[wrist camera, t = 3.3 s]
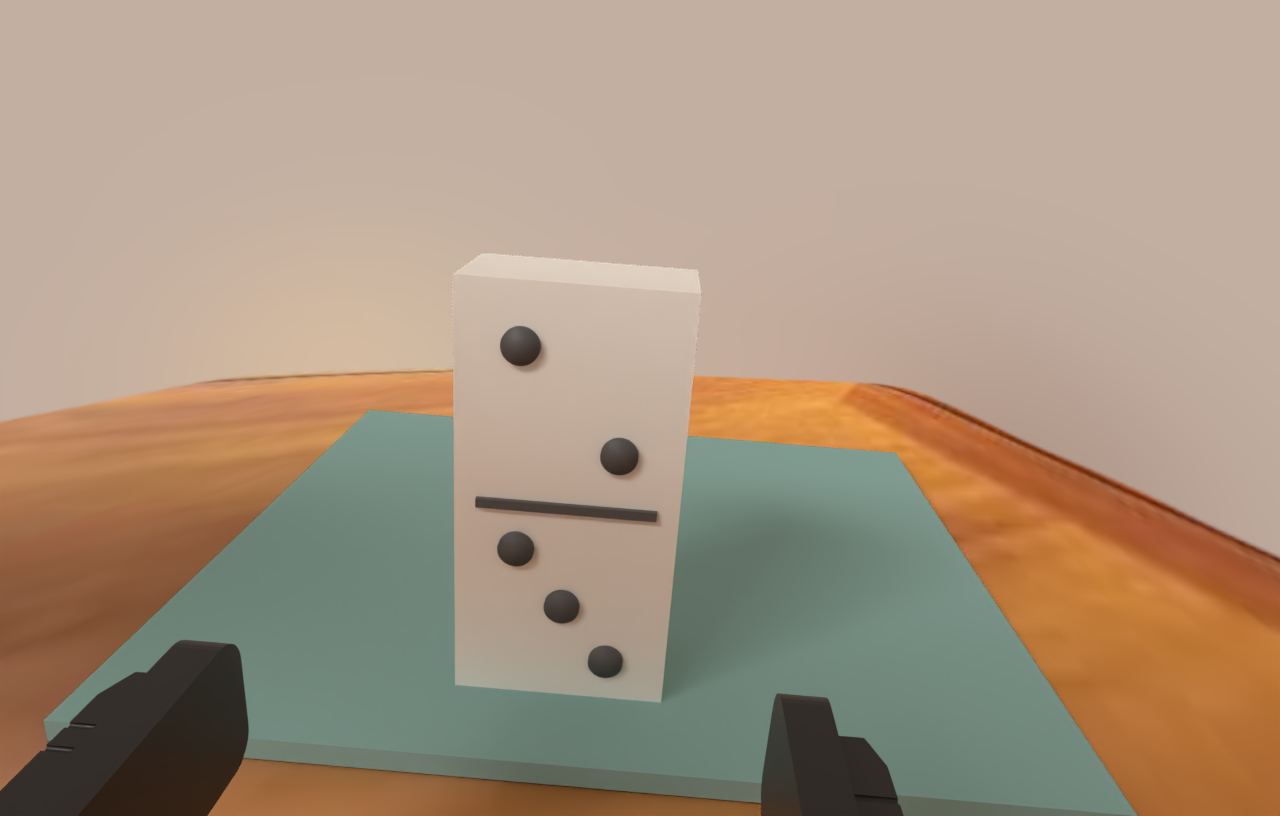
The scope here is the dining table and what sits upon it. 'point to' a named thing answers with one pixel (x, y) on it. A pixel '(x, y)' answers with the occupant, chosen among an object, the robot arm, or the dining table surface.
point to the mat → (696, 644)
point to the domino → (568, 470)
